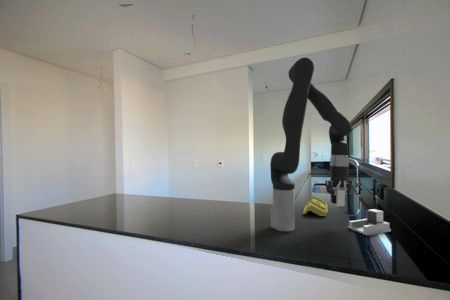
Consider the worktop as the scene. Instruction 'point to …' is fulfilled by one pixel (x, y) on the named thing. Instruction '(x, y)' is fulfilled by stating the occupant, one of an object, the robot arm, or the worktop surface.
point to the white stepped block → (371, 224)
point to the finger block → (340, 198)
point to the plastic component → (316, 206)
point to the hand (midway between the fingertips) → (338, 203)
